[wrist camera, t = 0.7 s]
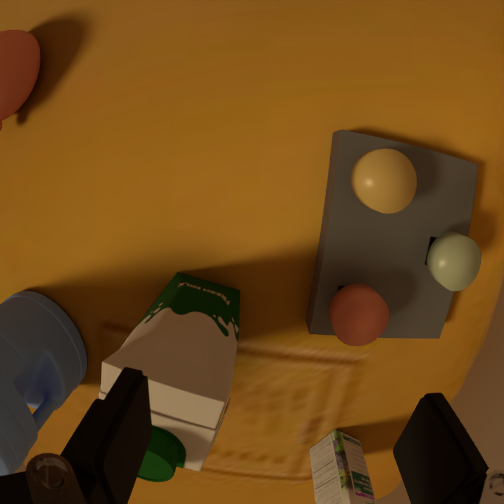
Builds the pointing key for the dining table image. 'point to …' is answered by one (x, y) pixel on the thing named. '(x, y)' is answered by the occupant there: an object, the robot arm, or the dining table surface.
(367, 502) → the syrup box
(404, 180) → the tan rounded piece
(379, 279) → the plate
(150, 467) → the milk carton
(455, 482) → the robot arm
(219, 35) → the dining table surface
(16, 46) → the sugar bowl
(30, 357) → the water jug
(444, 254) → the pale green ball
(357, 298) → the red rounded lump
